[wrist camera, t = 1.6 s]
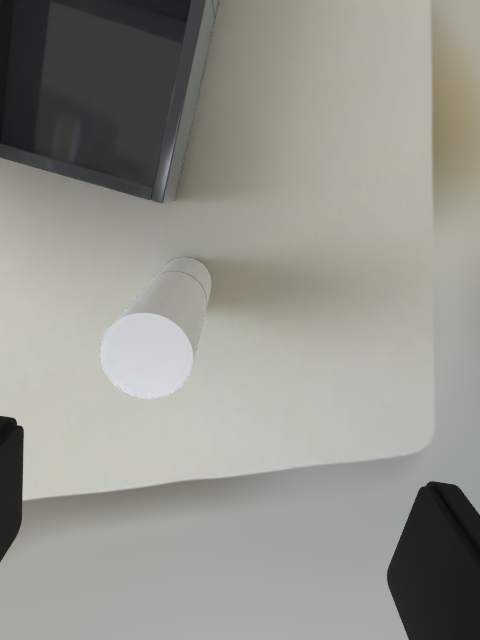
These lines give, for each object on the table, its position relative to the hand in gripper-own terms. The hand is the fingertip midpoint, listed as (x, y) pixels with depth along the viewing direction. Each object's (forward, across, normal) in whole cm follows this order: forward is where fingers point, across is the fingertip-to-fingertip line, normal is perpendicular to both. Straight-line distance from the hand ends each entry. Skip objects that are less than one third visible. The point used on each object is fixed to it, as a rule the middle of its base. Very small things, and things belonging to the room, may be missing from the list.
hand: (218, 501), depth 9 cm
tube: (+25, +4, +1) cm, 25 cm away
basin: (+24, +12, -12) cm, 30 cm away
